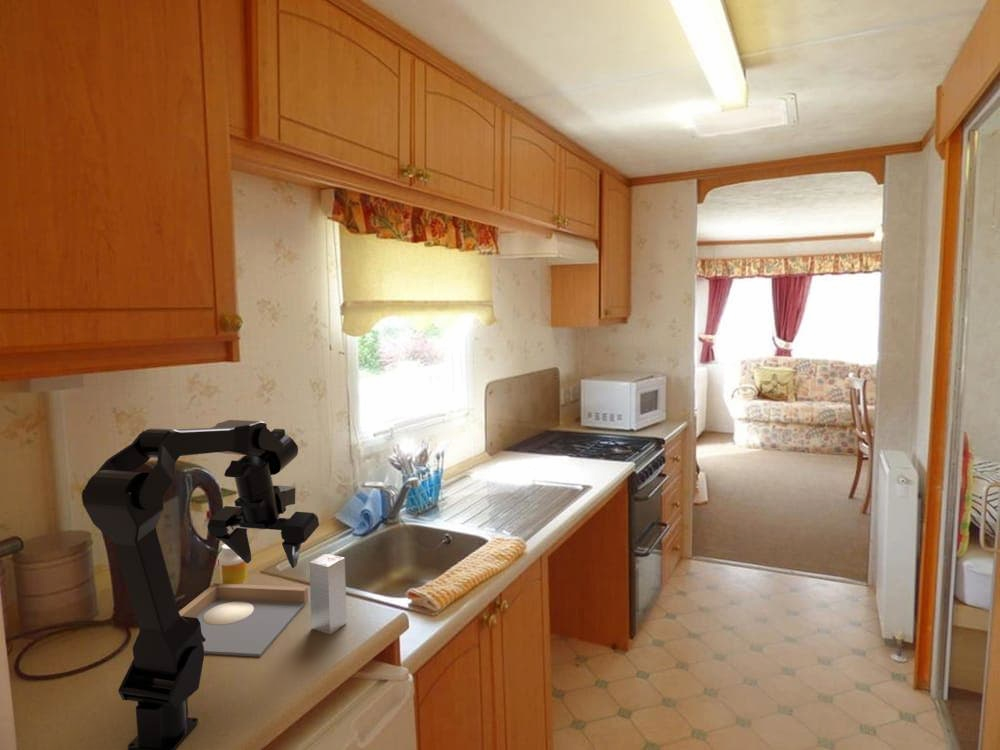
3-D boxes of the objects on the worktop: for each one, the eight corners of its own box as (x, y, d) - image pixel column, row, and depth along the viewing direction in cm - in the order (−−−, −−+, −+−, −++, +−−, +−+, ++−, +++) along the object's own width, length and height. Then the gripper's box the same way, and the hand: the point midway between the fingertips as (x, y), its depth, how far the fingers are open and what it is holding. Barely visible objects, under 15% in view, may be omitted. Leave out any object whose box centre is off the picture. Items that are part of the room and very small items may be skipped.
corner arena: (260, 656, 105) (259, 640, 104) (151, 650, 107) (150, 634, 106) (307, 601, 125) (307, 587, 124) (215, 597, 126) (214, 583, 126)
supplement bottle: (252, 588, 130) (250, 544, 129) (227, 597, 126) (225, 552, 125) (240, 580, 134) (238, 538, 133) (216, 589, 130) (213, 545, 129)
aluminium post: (330, 634, 112) (328, 566, 110) (311, 628, 114) (309, 562, 112) (346, 623, 116) (344, 557, 114) (328, 617, 118) (326, 553, 116)
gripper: (327, 468, 110) (339, 541, 116) (235, 463, 114) (251, 534, 120) (295, 501, 100) (310, 579, 105) (196, 494, 104) (215, 570, 109)
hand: (271, 564), depth 110 cm, fingers open, 9 cm apart
